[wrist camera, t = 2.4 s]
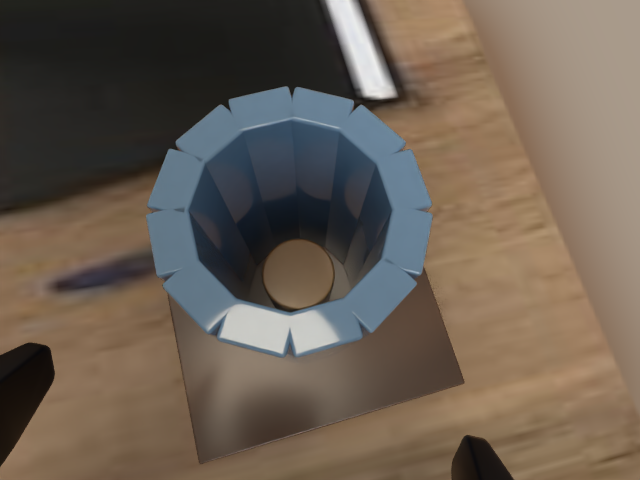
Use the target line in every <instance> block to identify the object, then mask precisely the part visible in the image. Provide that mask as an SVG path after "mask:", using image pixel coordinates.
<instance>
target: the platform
mask: <svg viewBox="0 0 640 480" xmlns="http://www.w3.org/2000/svg"><path fill="white" fill-rule="evenodd" d="M152 213H153V212H152ZM415 281H416V282H417V285H416V287H415V288H414V289H413V290H412V291H411V292H410V293H409V294H408V295H407V296H406V297H405V298H404V300H403V301H402V302H401V303H400V304H399V305H398V306H397V307H396V308H395V309H394V310H393V311H392V313H391V314H390V315H389V316H388V317H387V318H386V319H385V320H384V321H383V322H382V323H381V324H380V326H379V327H378V328H377V329H376V330H375V331H374V332H373V333H371V334H369V335H368V336H366V337H364V338H363V339H361V340H359V341H358V342H356V343H354V344H353V345H351V346H349V347H348V348H346V349H344V350H343V351H341V352H339V353H338V354H336V355H334V356H331V357H328V358H324V359H321V360H317V361H314V362H310V363H307V364H302V363H301V362H300V361H299V363H298V364H293V363H289V362H286V361H282V360H278V359H274V358H271V357H267V356H264V355H260V354H257V353H254V352H251V351H248V350H245V349H242V348H238V347H235V346H232V345H229V344H226V343H223V342H220V341H218V340H217V337H214V336H211V335H208V334H206V333H205V332H204V331H203V330H202V329H201V328H200V327H199V326H198V325H197V324H196V323H195V322H194V320H193V319H192V318H191V317H190V316H189V315H188V314H187V313H186V312H185V311H184V310H183V309H182V308H181V307H180V306H179V304H178V303H177V302H176V301H175V300H174V299H173V298H172V297H171V296H170V295H169V294H168V293H167V294H168V299H169V305H170V310H171V315H172V321H173V326H174V331H175V337H176V342H177V347H178V353H179V358H180V363H181V369H182V374H183V379H184V385H185V390H186V395H187V401H188V406H189V411H190V417H191V422H192V427H193V433H194V438H195V443H196V449H197V454H198V459H199V463H200V464H203V463H206V462H209V461H213V460H216V459H219V458H222V457H226V456H229V455H232V454H235V453H239V452H242V451H245V450H249V449H252V448H255V447H258V446H262V445H265V444H268V443H271V442H275V441H278V440H281V439H285V438H288V437H291V436H294V435H298V434H301V433H304V432H307V431H311V430H314V429H317V428H321V427H324V426H327V425H330V424H334V423H337V422H340V421H343V420H347V419H350V418H353V417H356V416H360V415H363V414H366V413H370V412H373V411H376V410H379V409H383V408H386V407H389V406H392V405H396V404H399V403H402V402H406V401H409V400H412V399H415V398H419V397H422V396H425V395H428V394H432V393H435V392H438V391H442V390H445V389H448V388H451V387H455V386H458V385H461V384H464V379H463V376H462V373H461V370H460V368H459V365H458V362H457V359H456V356H455V353H454V351H453V348H452V345H451V342H450V339H449V336H448V334H447V331H446V328H445V325H444V322H443V319H442V317H441V314H440V311H439V308H438V305H437V302H436V300H435V297H434V294H433V291H432V288H431V285H430V283H429V280H428V277H427V274H426V271H425V268H424V266H423V271H422V274H421V275H420V276H419V277H418V278H417V279H416V280H415ZM350 290H351V287H350V284H349V281H348V277H347V274H346V271H345V267H344V265H343V264H342V263H341V262H340V261H339V260H338V259H337V258H336V257H335V256H334V255H333V254H332V253H331V252H330V251H329V250H328V249H327V248H325V247H322V246H320V245H319V244H317V243H315V242H313V241H310V240H306V239H291V240H287V241H284V242H282V243H280V244H279V245H277V246H276V247H275V248H273V249H272V251H271V252H270V253H269V254H268V255H267V256H266V257H265V258H264V259H263V260H262V261H261V262H260V263H259V264H258V265H257V267H256V270H255V273H254V277H253V280H252V283H251V287H250V290H249V291H250V295H251V299H252V302H253V303H256V304H260V305H264V306H268V307H272V308H276V309H280V310H283V311H287V312H293V311H297V310H300V309H304V308H308V307H311V306H315V305H318V304H322V303H326V302H329V301H333V300H336V299H340V298H344V297H345V296H346V294H347V293H348V292H349V291H350Z"/></svg>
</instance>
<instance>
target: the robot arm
mask: <svg viewBox="0 0 640 480" xmlns="http://www.w3.org/2000/svg"><path fill="white" fill-rule="evenodd" d="M54 376H55V371H54V366H53V360H52V355H51V350H50V348H49V347H48V346H46V345H41V344H37V343H26V344H24V345H21V346H19V347H17V348H15V349H13V350H11V351H9V352H6V353H4V354H2V355H0V466H1V465H2V464H3V462H4V461H5V460H6V458H7V457H8V455H9V454H10V452H11V451H12V449H13V448H14V446H15V445H16V443H17V442H18V440H19V438H20V437H21V435H22V433H23V432H24V430H25V428H26V427H27V425H28V423H29V422H30V420H31V418H32V417H33V415H34V413H35V412H36V410H37V408H38V407H39V405H40V403H41V402H42V400H43V398H44V396H45V395H46V393H47V391H48V390H49V388H50V386H51V385H52V383H53V380H54ZM451 473H452V480H514V479H513V477H512V476H511V475H510V473H509V472H508V470H507V469H506V467H505V466H504V464H503V463H502V462H501V460H500V459H499V457H498V456H497V454H496V453H495V451H494V450H493V449H492V447H491V446H490V444H489V443H488V442H487V441H486V440H485V439H483V438H480V437H475V436H470V435H466V436H465V437H464V438H463V439H462V441H461V443H460V446H459V448H458V450H457V452H456V454H455V456H454V458H453V461H452V469H451Z"/></svg>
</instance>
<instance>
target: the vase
mask: <svg viewBox="0 0 640 480" xmlns="http://www.w3.org/2000/svg"><path fill="white" fill-rule="evenodd" d="M228 103H229V107H230V111H231V112H230V111H229V110H228V109H227V108H226V107H225V106H223V105H219V106H218V107H216V108H215V109H214V110H213V111H212V112H210V113H209V114H208V115H207V116H205V117H204V118H203V119H202V120H201V121H199V122H198V123H197V124H196V125H195V126H193V127H192V128H191V129H190V130H189V131H187V132H186V133H185V134H184V135H182V136H181V137H180V138H179V139H178V140H177V141H176V142H175V144H176V146H177V148H178V150H179V151H178V150H174V149H169V150H168V152H167V155H166V158H165V160H164V163H163V165H162V168H161V170H160V173H159V175H158V178H157V181H156V183H155V186H154V188H153V191H152V193H151V196H150V198H149V201H148V204H147V207H148V208H149V209H150V210H151V211H152V212H153V213H149V214H147V215H146V220H147V225H148V231H149V236H150V242H151V247H152V253H153V258H154V264H155V269H156V274H157V277H158V278H160V279H161V280H163V281H165V282H164V284H163V285H162V286H163V289H164V290H165V291H166V292H167V293H168V294H169V295H170V296H171V297H172V298H173V299H174V300H175V301H176V302H177V303H178V304H179V306H180V307H181V308H182V309H183V310H184V311H185V312H186V313H187V314H188V315H189V316H190V317H191V318H192V319H193V320H194V322H195V323H196V324H197V325H198V326H199V327H200V328H201V329H202V330H203V331H204V332H205V333H206V334H208V335H211V336H214V337H217V340H218V341H220V342H223V343H226V344H229V345H232V346H235V347H238V348H242V349H245V350H248V351H251V352H254V353H257V354H260V355H264V356H267V357H271V358H274V359H278V360H282V361H286V362H289V363H293V364H298V363H299V361H300V362H301V363H302V364H307V363H310V362H314V361H317V360H321V359H324V358H328V357H331V356H334V355H336V354H338V353H339V352H341V351H343V350H344V349H346V348H348V347H349V346H351V345H353V344H354V343H356V342H358V341H359V340H361V339H363V338H364V337H366V336H368V335H369V334H371V333H373V332H374V331H375V330H376V329H377V328H378V327H379V326H380V324H381V323H382V322H383V321H384V320H385V319H386V318H387V317H388V316H389V315H390V314H391V313H392V311H393V310H394V309H395V308H396V307H397V306H398V305H399V304H400V303H401V302H402V301H403V300H404V298H405V297H406V296H407V295H408V294H409V293H410V292H411V291H412V290H413V289H414V288H415V287H416V285H417V282H416V281H415V280H416V279H417V278H418V277H419V276H420V275H421V274H422V271H423V266H424V261H425V256H426V251H427V246H428V240H429V235H430V230H431V225H432V220H433V216H432V214H431V213H429V212H428V210H429V209H430V208H431V206H432V202H431V199H430V197H429V194H428V191H427V188H426V186H425V183H424V180H423V178H422V175H421V172H420V170H419V167H418V164H417V162H416V159H415V156H414V154H413V151H412V150H411V149H408V150H404V151H403V149H404V147H405V144H406V142H405V141H404V140H403V139H402V138H401V137H400V136H399V135H398V134H396V133H395V132H394V131H393V130H392V129H390V128H389V127H388V126H387V125H386V124H385V123H383V122H382V121H381V120H380V119H379V118H377V117H376V116H375V115H374V114H373V113H372V112H370V111H369V110H368V109H367V108H366V107H364V106H363V105H360V106H358V107H357V108H356V109H355V110H354V111H353V107H354V102H353V100H351V99H347V98H343V97H339V96H334V95H330V94H326V93H321V92H317V91H313V90H309V89H304V88H300V87H296V88H295V90H294V92H293V96H292V97H291V94H290V90H289V88H288V87H287V86H285V87H281V88H276V89H272V90H267V91H263V92H259V93H254V94H250V95H245V96H241V97H237V98H232V99H229V102H228ZM291 239H306V240H310V241H313V242H315V243H317V244H319V245H320V246H322V247H325V248H327V249H328V250H329V251H330V252H331V253H332V254H333V255H334V256H335V257H336V258H337V259H338V260H339V261H340V262H341V263H342V264H343V265H344V267H345V271H346V274H347V277H348V281H349V284H350V287H351V290H350V291H349V292H348V293H347V294H346V296H345V297H344V298H340V299H336V300H333V301H329V302H326V303H322V304H318V305H315V306H311V307H308V308H304V309H300V310H297V311H293V312H287V311H283V310H280V309H276V308H272V307H268V306H264V305H260V304H256V303H253V302H252V299H251V295H250V291H249V290H250V287H251V283H252V280H253V277H254V273H255V270H256V267H257V265H258V264H259V263H260V262H261V261H262V260H263V259H264V258H265V257H266V256H267V255H268V254H269V253H270V252H271V251H272V249H273V248H275V247H276V246H277V245H279V244H280V243H282V242H284V241H287V240H291Z"/></svg>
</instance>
